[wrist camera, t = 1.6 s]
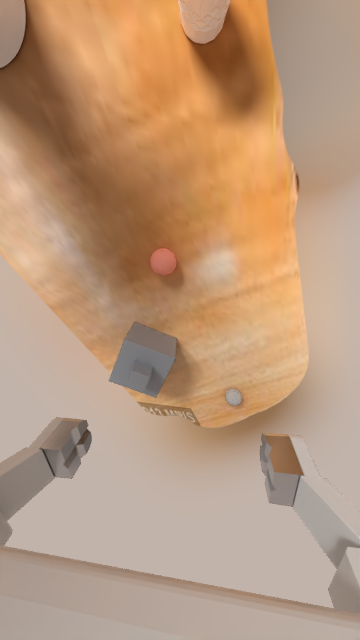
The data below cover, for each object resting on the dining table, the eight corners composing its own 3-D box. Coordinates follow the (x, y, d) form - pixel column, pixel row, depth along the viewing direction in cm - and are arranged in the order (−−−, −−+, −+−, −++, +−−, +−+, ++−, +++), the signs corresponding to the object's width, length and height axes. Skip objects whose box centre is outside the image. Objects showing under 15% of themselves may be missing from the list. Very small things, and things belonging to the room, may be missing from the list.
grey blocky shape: (120, 357, 50) (102, 392, 39) (134, 321, 47) (119, 348, 35) (160, 372, 51) (153, 410, 40) (176, 338, 48) (174, 369, 37)
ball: (148, 267, 42) (144, 270, 38) (157, 243, 41) (154, 243, 36) (171, 277, 43) (169, 281, 38) (180, 254, 42) (180, 255, 37)
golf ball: (225, 399, 54) (228, 410, 51) (222, 387, 53) (225, 398, 49) (240, 396, 54) (245, 407, 50) (238, 383, 53) (242, 394, 49)
